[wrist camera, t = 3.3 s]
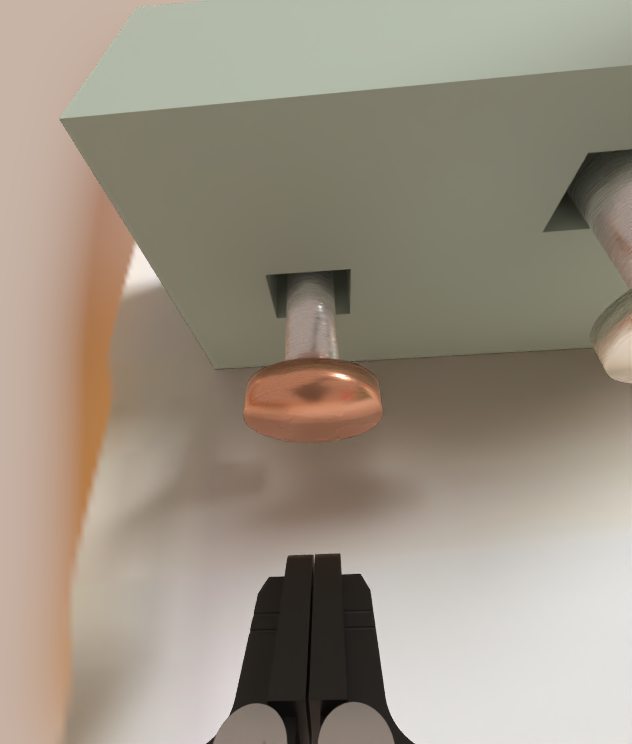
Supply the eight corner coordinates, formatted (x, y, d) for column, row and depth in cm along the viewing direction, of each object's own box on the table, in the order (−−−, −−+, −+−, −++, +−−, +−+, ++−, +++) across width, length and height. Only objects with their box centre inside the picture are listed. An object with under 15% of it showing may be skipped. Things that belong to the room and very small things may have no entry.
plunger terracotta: (270, 254, 24) (252, 171, 19) (354, 248, 23) (357, 162, 18) (259, 444, 17) (225, 391, 12) (376, 439, 17) (390, 383, 12)
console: (229, 264, 29) (136, 7, 16) (557, 240, 27) (747, -59, 14) (215, 369, 24) (59, 118, 11) (615, 346, 22) (986, 31, 9)
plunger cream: (474, 173, 19) (519, 36, 14) (581, 164, 19) (662, 21, 14) (569, 387, 12) (711, 267, 8) (735, 379, 12) (994, 249, 7)
